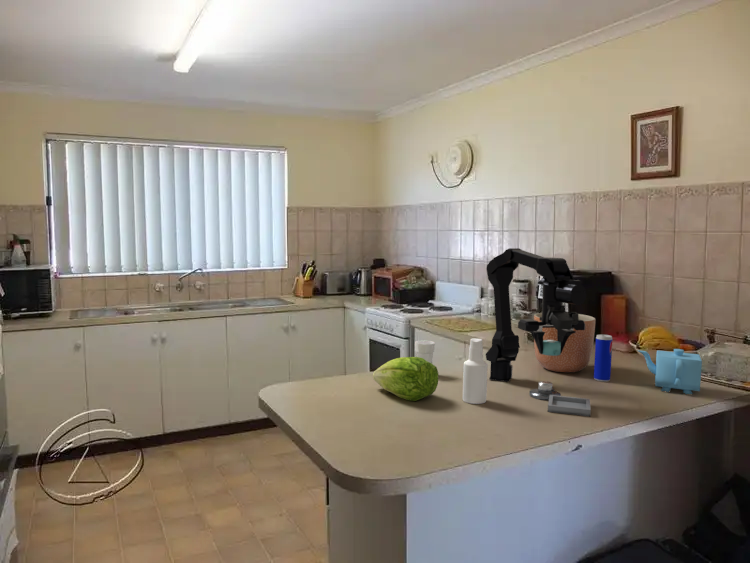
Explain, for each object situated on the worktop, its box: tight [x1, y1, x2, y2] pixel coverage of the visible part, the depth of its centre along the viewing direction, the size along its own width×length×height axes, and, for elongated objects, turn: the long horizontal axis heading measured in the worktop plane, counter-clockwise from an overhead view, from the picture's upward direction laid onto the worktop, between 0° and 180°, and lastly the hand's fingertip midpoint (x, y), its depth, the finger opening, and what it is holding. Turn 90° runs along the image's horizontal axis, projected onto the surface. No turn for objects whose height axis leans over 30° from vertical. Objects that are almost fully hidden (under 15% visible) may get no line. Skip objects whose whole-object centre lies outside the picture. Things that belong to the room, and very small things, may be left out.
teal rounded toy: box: [543, 340, 561, 356], centre depth 172 cm, size 7×6×4 cm
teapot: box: [637, 348, 703, 395], centre depth 186 cm, size 18×16×13 cm
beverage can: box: [593, 334, 613, 383], centre depth 195 cm, size 5×5×15 cm
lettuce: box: [372, 356, 439, 402], centre depth 174 cm, size 13×22×14 cm
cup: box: [414, 340, 436, 364], centre depth 199 cm, size 7×7×11 cm
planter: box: [533, 312, 596, 374], centre depth 209 cm, size 21×21×19 cm
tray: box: [547, 395, 592, 418], centre depth 164 cm, size 11×11×2 cm
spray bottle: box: [462, 337, 489, 405], centre depth 169 cm, size 7×7×18 cm
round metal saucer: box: [528, 380, 562, 401], centre depth 176 cm, size 9×9×4 cm
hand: (550, 353), depth 173 cm, fingers closed on teal rounded toy, 6 cm apart
